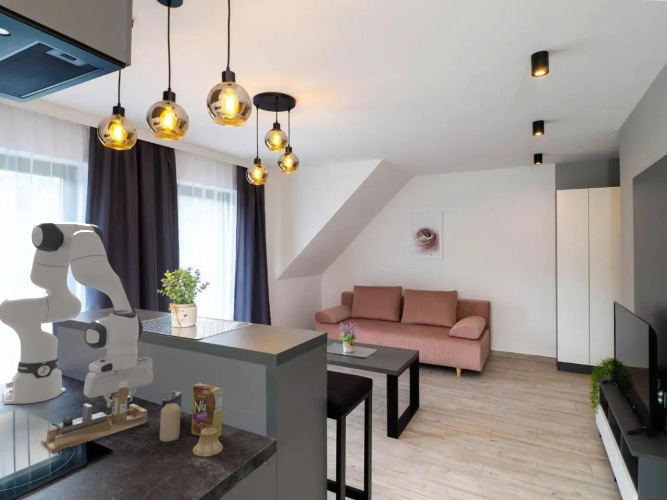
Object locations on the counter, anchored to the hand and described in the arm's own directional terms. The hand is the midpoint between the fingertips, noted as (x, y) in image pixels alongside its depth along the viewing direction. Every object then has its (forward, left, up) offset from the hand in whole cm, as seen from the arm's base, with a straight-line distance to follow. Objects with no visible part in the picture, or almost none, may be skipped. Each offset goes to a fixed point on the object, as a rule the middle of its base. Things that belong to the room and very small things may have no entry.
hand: (119, 404), depth 120 cm
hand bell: (+35, +9, -7) cm, 37 cm away
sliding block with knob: (0, -10, -6) cm, 12 cm away
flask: (+11, +12, -7) cm, 18 cm away
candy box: (+27, +14, -7) cm, 31 cm away
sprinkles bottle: (0, 0, -6) cm, 6 cm away
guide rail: (0, -6, -7) cm, 9 cm away
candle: (+20, +6, -7) cm, 22 cm away
